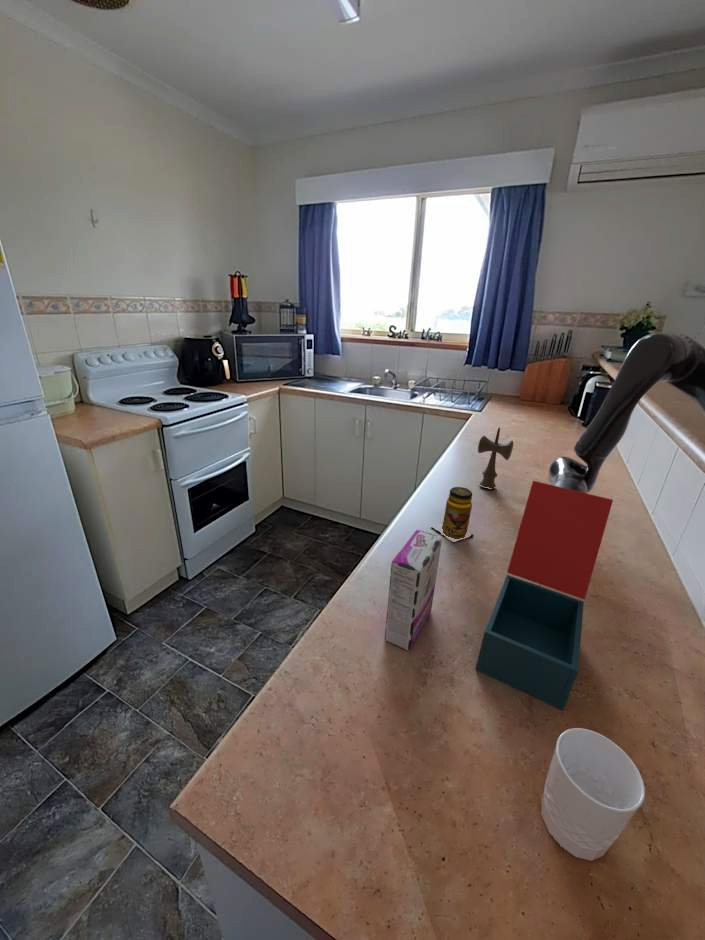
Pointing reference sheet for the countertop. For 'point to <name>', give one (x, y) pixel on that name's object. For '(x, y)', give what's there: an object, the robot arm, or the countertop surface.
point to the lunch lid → (560, 538)
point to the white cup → (589, 793)
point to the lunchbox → (533, 641)
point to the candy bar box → (412, 588)
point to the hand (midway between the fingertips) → (558, 535)
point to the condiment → (457, 513)
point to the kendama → (493, 457)
